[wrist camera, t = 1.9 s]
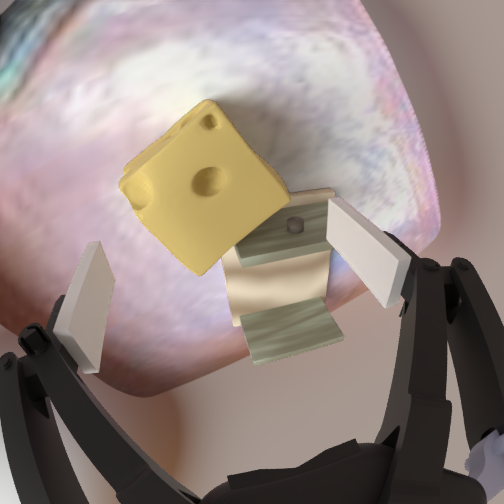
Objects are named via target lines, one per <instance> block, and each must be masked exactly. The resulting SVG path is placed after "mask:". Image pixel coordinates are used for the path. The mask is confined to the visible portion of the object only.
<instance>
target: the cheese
mask: <svg viewBox="0 0 504 504" xmlns="http://www.w3.org/2000/svg"><path fill="white" fill-rule="evenodd" d="M123 173H124V176H123V177H122V178H121V180H120V181H119V189H120V191H121V192H122V193H123V194H124V195H125V196H126V198H127V199H128V201H129V202H130V204H131V206H132V208H133V211H134V213H135V214H136V216H137V217H138V219H139V220H140V222H141V223H142V224H143V225H144V226H145V227H146V228H147V229H148V230H149V231H150V232H151V233H152V234H153V235H154V236H155V237H156V238H157V239H158V240H159V241H160V242H161V243H162V244H163V245H164V246H165V247H166V248H167V249H168V250H169V251H170V252H171V253H172V254H173V255H174V256H175V257H176V258H177V259H178V260H179V261H180V262H181V263H182V264H183V265H184V266H185V267H186V268H188V269H189V270H190V271H192V272H193V273H195V274H196V275H198V276H202V275H203V274H205V273H206V272H207V271H208V270H209V269H210V268H211V267H212V266H213V265H214V264H215V263H216V262H217V261H218V260H219V259H220V258H221V257H222V256H223V255H224V254H225V253H226V252H227V251H228V250H229V249H231V248H232V247H233V246H234V245H235V244H237V243H238V242H239V241H240V240H242V239H243V238H244V237H245V236H247V235H248V234H249V233H250V232H251V231H253V230H254V229H255V228H256V227H258V226H259V225H260V224H261V223H263V222H264V221H265V220H266V219H268V218H269V217H270V216H272V215H273V214H274V213H276V212H277V211H278V210H280V209H281V208H282V207H284V206H285V205H287V204H288V203H289V202H290V201H291V197H290V195H289V192H288V189H287V187H286V185H285V183H284V182H283V180H282V179H281V177H280V176H279V175H278V174H277V172H276V171H275V170H274V169H273V168H272V167H271V166H270V165H269V164H268V163H267V162H266V161H265V160H263V159H262V158H261V157H260V156H259V155H257V154H256V153H255V152H254V151H253V150H252V149H251V148H250V146H249V145H248V144H247V143H246V141H245V140H244V139H243V138H242V136H241V135H240V134H239V132H238V131H237V130H236V128H235V127H234V125H233V124H232V123H231V121H230V120H229V119H228V117H227V116H226V115H225V113H224V112H223V111H222V109H221V108H220V107H219V106H218V104H217V103H216V102H214V101H211V100H208V99H206V100H203V101H201V102H200V103H199V104H197V105H196V106H195V107H194V108H193V109H191V110H190V111H189V112H188V113H187V114H185V115H184V116H183V117H182V118H181V119H180V120H178V121H177V122H176V123H175V124H174V125H173V126H172V127H171V128H170V129H169V130H168V131H167V132H166V133H165V134H164V135H163V136H162V137H160V138H159V139H158V140H157V141H155V142H153V143H152V144H151V145H150V146H148V147H147V148H146V149H145V150H144V151H143V152H141V153H140V154H139V155H138V156H136V157H135V158H134V159H133V160H131V161H130V162H129V163H128V164H127V165H126V166H125V167H124V169H123Z"/></svg>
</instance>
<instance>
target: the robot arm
mask: <svg viewBox="0 0 504 504" xmlns="http://www.w3.org/2000/svg"><path fill="white" fill-rule="evenodd" d="M326 239H327V240H328V242H329V243H330V244H331V245H332V246H333V247H334V248H335V250H336V251H337V252H338V253H339V254H340V255H341V256H342V258H343V259H344V260H345V261H346V262H347V263H348V265H349V266H350V267H351V268H352V269H353V270H354V272H355V273H356V274H357V275H358V276H359V278H360V279H361V280H362V281H363V282H364V284H365V285H366V286H367V287H368V288H369V290H370V291H371V292H372V293H373V295H374V296H375V297H376V298H377V300H378V301H379V302H380V303H381V304H382V306H383V307H384V308H385V309H387V308H389V307H392V306H395V305H397V304H398V301H399V298H400V295H401V296H402V297H403V298H404V299H405V301H404V304H403V307H402V310H401V313H400V315H399V317H401V316H402V320H401V329H400V338H399V344H398V351H397V357H396V363H395V369H394V375H393V380H392V385H391V390H390V394H389V399H388V403H387V408H386V412H385V416H384V420H383V423H382V426H381V429H380V431H379V433H378V435H377V437H376V439H375V442H374V443H357V441H356V439H353V440H350V441H347V442H345V443H342V444H340V445H338V446H335V447H332V448H329V449H327V450H325V451H323V452H322V453H320V454H319V455H317V456H316V457H314V458H312V459H311V460H309V461H308V462H306V463H304V464H302V465H300V466H299V467H296V468H286V469H259V470H254V471H250V472H245V473H240V474H235V475H229V476H227V478H228V481H227V482H225V483H222V484H221V485H219V486H217V487H216V488H214V489H213V490H211V491H210V492H209V493H208V494H207V495H205V497H204V498H203V499H200V498H199V497H198V496H197V495H195V494H194V493H193V492H191V491H190V490H189V489H187V488H186V487H184V486H183V485H181V484H180V483H179V482H177V481H176V480H175V479H174V478H173V477H171V476H170V475H169V474H168V473H167V472H166V471H165V470H163V469H162V468H161V467H160V466H159V465H158V464H157V463H156V462H154V461H153V460H152V459H151V458H150V457H149V456H148V455H147V454H146V453H145V452H144V451H143V450H142V449H141V448H140V447H139V446H138V445H137V444H136V443H135V442H134V441H133V440H132V439H131V438H130V437H129V436H128V435H127V434H126V432H125V431H124V430H123V429H122V428H121V427H120V426H119V425H118V424H117V423H116V421H115V420H114V419H113V418H112V417H111V416H110V414H109V413H108V412H107V411H106V410H105V409H104V407H103V406H102V405H101V404H100V402H99V401H98V400H97V399H96V397H95V396H94V395H93V394H92V392H91V391H90V390H89V388H88V387H87V386H86V384H85V383H84V382H83V380H82V379H81V378H80V376H79V375H78V374H77V369H78V366H79V367H80V368H81V370H82V371H83V372H84V373H85V374H86V373H98V372H99V367H100V359H101V352H102V346H103V340H104V334H105V328H106V322H107V317H108V312H109V307H110V302H111V298H112V293H113V289H114V284H115V278H114V276H113V273H112V271H111V268H110V266H109V263H108V261H107V258H106V255H105V253H104V250H103V248H102V245H101V242H100V241H96V242H91V243H88V245H87V247H86V249H85V251H84V253H83V255H82V258H81V260H80V262H79V264H78V267H77V269H76V271H75V274H74V276H73V278H72V281H71V283H70V286H69V288H68V291H67V293H66V295H61V296H60V298H59V299H58V300H57V301H56V303H55V305H54V307H53V310H52V311H53V312H52V313H51V315H50V318H49V321H48V324H47V326H46V329H45V331H44V329H43V328H42V326H41V325H40V324H39V323H32V324H30V325H28V326H26V327H25V328H24V329H23V330H22V331H21V333H20V335H19V338H18V343H19V345H20V346H21V347H22V348H23V350H24V351H25V352H26V354H27V355H26V356H24V357H21V358H19V359H18V357H17V356H16V355H15V354H14V353H13V352H8V353H5V354H4V355H2V356H1V358H0V419H1V426H2V432H3V438H4V443H5V448H6V453H7V458H8V462H9V466H10V469H11V473H12V477H13V480H14V484H15V487H16V490H17V493H18V496H19V499H20V502H21V504H89V502H88V500H87V498H86V496H85V494H84V492H83V490H82V488H81V486H80V484H79V482H78V479H77V477H76V475H75V473H74V471H73V468H72V466H71V463H70V460H69V458H68V455H67V453H66V450H65V447H64V445H63V442H62V439H61V436H60V433H59V430H58V427H57V424H56V420H55V417H54V414H53V410H52V407H51V403H50V400H51V402H52V403H53V405H54V407H55V409H56V410H57V412H58V414H59V415H60V417H61V418H62V420H63V422H64V423H65V425H66V426H67V428H68V430H69V431H70V433H71V434H72V436H73V437H74V439H75V440H76V441H77V443H78V444H79V446H80V447H81V449H82V450H83V451H84V453H85V454H86V455H87V457H88V458H89V459H90V461H91V462H92V463H93V465H94V466H95V467H96V468H97V470H98V471H99V472H100V473H101V474H102V476H103V477H104V478H105V479H106V480H107V481H108V483H109V484H110V485H111V486H112V487H113V489H114V490H115V491H116V497H117V499H118V501H119V502H120V503H121V504H487V502H488V501H489V500H491V499H492V498H493V497H494V496H496V495H497V494H498V493H499V492H500V491H501V490H503V489H504V326H503V324H502V321H501V319H500V317H499V315H498V313H497V310H496V308H495V306H494V304H493V302H492V300H491V298H490V296H489V294H488V292H487V290H486V288H485V286H484V284H483V282H482V280H481V279H480V277H479V275H478V273H477V271H476V270H475V268H474V266H473V265H472V264H471V262H469V261H468V260H467V259H464V258H459V257H456V258H454V259H453V260H452V263H451V265H450V266H444V267H443V266H442V267H441V266H440V265H439V264H438V262H436V261H434V260H432V259H429V258H419V257H418V256H417V255H416V254H415V253H414V252H413V251H411V250H410V249H409V248H408V247H407V246H405V244H403V243H402V242H401V241H400V240H399V239H398V238H396V237H395V236H394V235H392V234H390V233H388V232H386V231H381V230H380V229H379V228H378V227H377V226H375V225H374V224H373V223H372V222H371V221H369V220H368V219H367V218H366V217H365V216H363V215H362V214H361V213H360V212H358V211H357V210H356V209H355V208H353V207H352V206H351V205H350V204H348V203H347V202H346V201H344V200H343V199H342V198H341V197H336V198H329V202H328V220H327V236H326ZM447 340H448V344H449V348H450V352H451V355H452V359H453V364H454V368H455V372H456V377H457V382H458V387H459V392H460V398H461V404H462V410H463V417H464V424H465V431H466V437H467V441H468V445H469V448H470V454H469V458H468V459H467V460H466V462H465V469H466V470H467V471H469V475H468V476H466V475H463V474H459V473H457V472H453V471H451V470H447V469H445V468H443V467H444V463H445V457H446V452H447V446H448V439H449V432H450V424H451V415H452V403H451V401H449V400H446V381H447ZM49 398H50V399H49Z"/></svg>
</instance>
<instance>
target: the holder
mask: <svg viewBox="0 0 504 504" xmlns="http://www.w3.org/2000/svg"><path fill="white" fill-rule="evenodd" d="M289 195H290V197H291V201H290V202H289V203H288V204H287V205H285V206H284V207H282V208H281V209H280V210H278V211H277V212H276V213H274V214H273V215H272V216H270V217H269V218H268V219H266V220H265V221H264V222H263V223H261V224H260V225H259V226H258V227H256V228H255V229H254V230H253V231H251V232H250V233H249V234H248V235H247V236H245V237H244V238H243V239H242V240H240V241H239V242H238V243H237V244H235V245H234V246H233V247H232V248H231V249H229V250H228V251H227V252H226V253H225V254H224V255H223V256H222V257H221V259H222V265H223V271H224V277H225V283H226V289H227V295H228V300H229V306H230V312H231V317H232V322H233V326H234V327H236V326H242V329H243V332H244V336H245V339H246V342H247V346H248V349H249V352H250V355H251V358H252V362H253V365H254V366H256V365H260V364H264V363H268V362H272V361H276V360H280V359H283V358H287V357H291V356H294V355H298V354H302V353H305V352H308V351H311V350H315V349H318V348H321V347H325V346H328V345H331V344H334V343H337V342H340V341H343V338H344V335H343V333H342V331H341V330H340V328H339V327H338V325H337V323H336V322H335V320H334V319H333V317H332V315H331V314H330V312H329V310H328V309H327V307H326V306H325V298H326V290H327V282H328V273H329V264H330V254H331V250H332V249H335V248H334V247H333V246H332V245H331V244H330V243H329V242H328V240H327V239H326V236H327V220H328V202H329V198H335V192H334V191H333V190H331V189H330V188H325V189H317V190H309V191H302V192H295V193H289Z"/></svg>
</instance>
